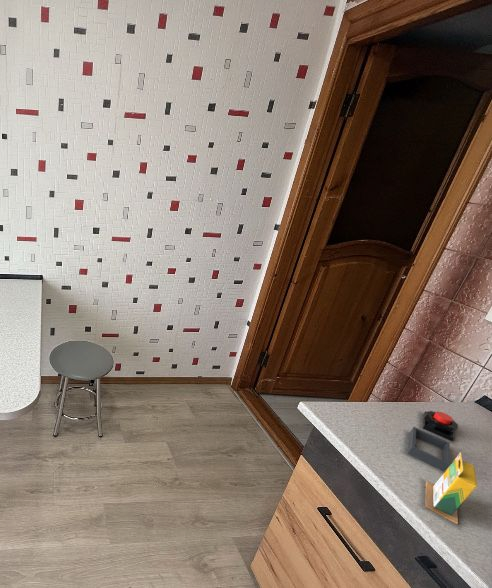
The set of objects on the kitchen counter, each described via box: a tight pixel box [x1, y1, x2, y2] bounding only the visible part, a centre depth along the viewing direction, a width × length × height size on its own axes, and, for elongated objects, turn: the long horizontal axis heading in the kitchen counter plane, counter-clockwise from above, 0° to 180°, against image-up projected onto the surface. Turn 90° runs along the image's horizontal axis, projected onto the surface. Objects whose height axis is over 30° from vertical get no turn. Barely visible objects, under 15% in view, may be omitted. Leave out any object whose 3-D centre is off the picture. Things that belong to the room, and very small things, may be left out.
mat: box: [424, 480, 459, 525], centre depth 74 cm, size 5×9×1 cm, turn 135°
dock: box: [407, 426, 452, 472], centre depth 88 cm, size 7×11×2 cm
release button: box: [433, 411, 454, 425], centre depth 96 cm, size 4×4×2 cm
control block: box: [422, 410, 459, 442], centre depth 96 cm, size 9×6×3 cm
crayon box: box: [433, 451, 478, 516], centre depth 72 cm, size 7×3×12 cm, turn 135°
